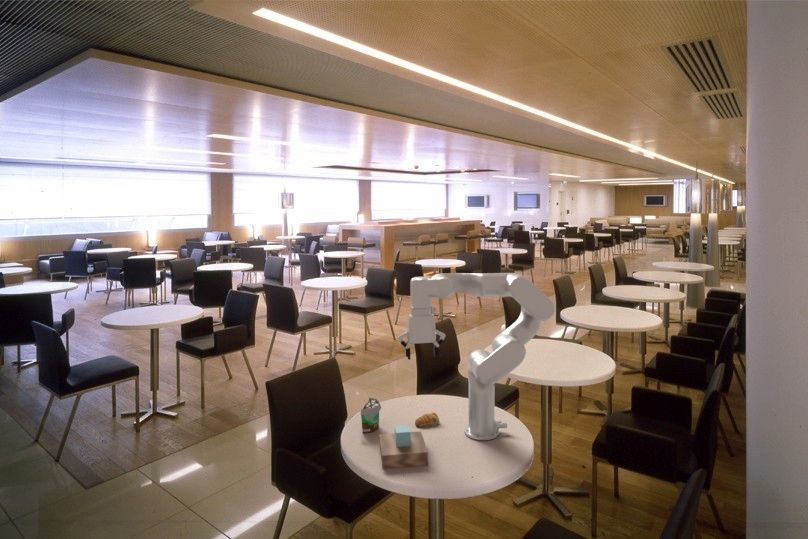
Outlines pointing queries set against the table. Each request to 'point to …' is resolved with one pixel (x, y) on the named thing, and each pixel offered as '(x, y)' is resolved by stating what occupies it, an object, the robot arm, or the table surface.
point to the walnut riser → (403, 451)
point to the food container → (370, 416)
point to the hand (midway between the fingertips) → (422, 357)
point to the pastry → (427, 420)
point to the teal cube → (402, 436)
